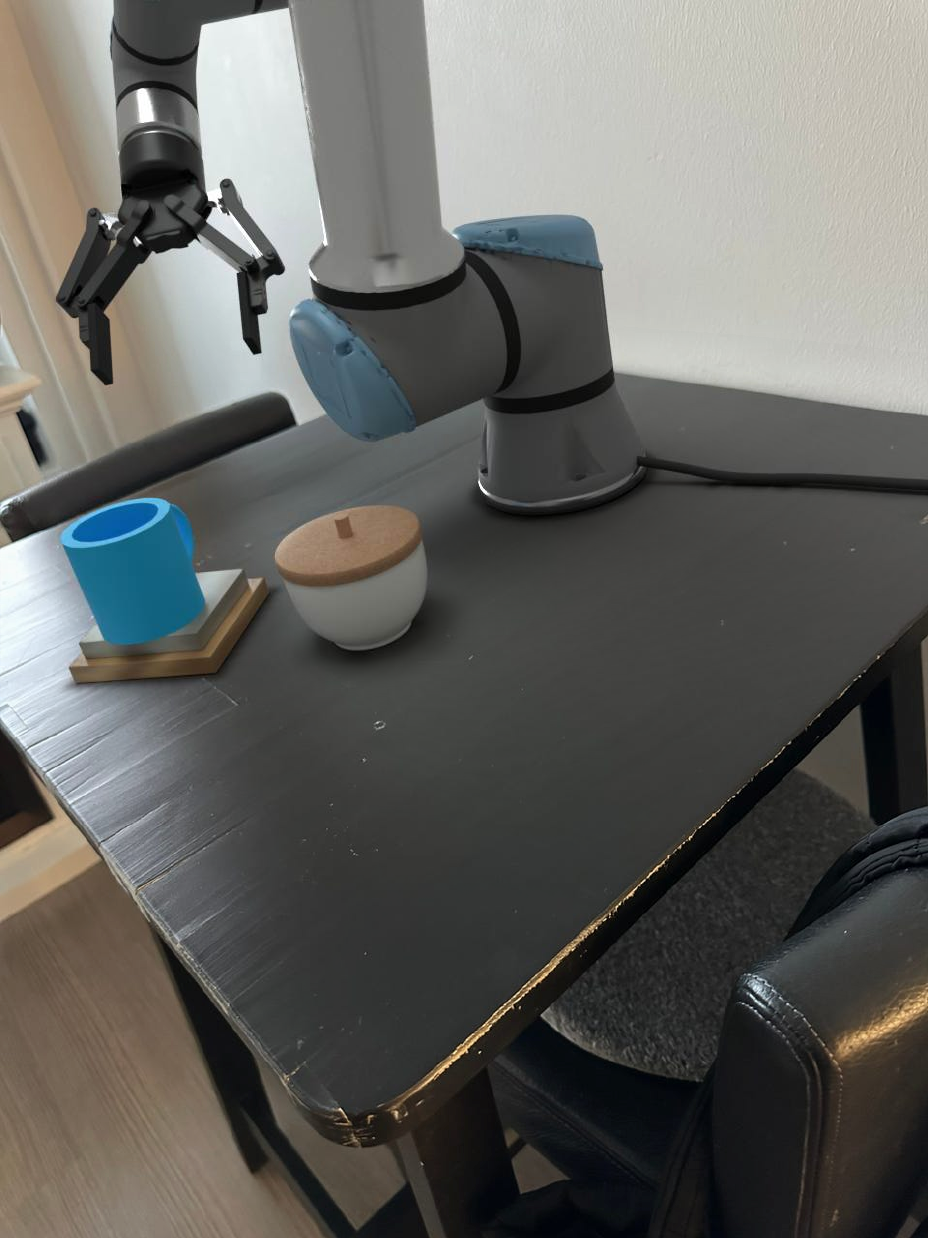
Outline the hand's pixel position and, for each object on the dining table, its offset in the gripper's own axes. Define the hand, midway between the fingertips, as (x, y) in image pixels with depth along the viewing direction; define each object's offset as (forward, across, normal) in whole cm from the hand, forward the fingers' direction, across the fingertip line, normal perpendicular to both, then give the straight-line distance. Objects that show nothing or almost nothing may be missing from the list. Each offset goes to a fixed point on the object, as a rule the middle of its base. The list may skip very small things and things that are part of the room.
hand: (176, 362), depth 89 cm
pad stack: (+24, +2, 0) cm, 24 cm away
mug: (+22, +2, +2) cm, 22 cm away
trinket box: (+28, -15, +3) cm, 31 cm away
